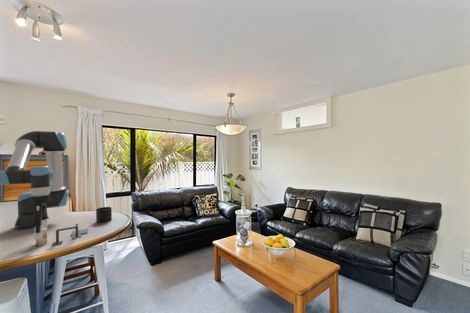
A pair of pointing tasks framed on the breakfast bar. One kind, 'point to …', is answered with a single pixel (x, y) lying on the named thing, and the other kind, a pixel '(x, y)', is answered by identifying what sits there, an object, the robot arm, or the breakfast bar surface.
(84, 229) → the coaster
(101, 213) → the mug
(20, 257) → the breakfast bar surface
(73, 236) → the wire
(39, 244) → the beech peg
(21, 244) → the breakfast bar surface
